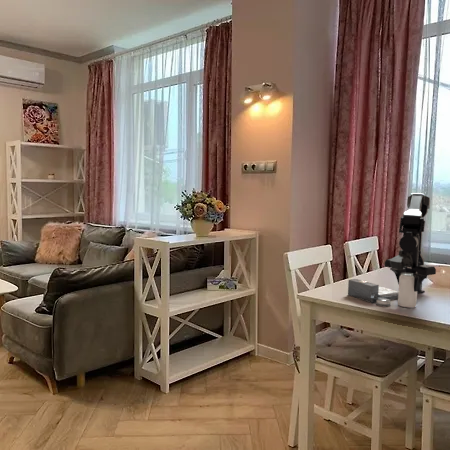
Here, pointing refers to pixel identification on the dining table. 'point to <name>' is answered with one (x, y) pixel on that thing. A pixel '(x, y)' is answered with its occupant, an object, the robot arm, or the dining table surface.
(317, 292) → the dining table surface
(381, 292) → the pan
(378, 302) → the spacer
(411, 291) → the can
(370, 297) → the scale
